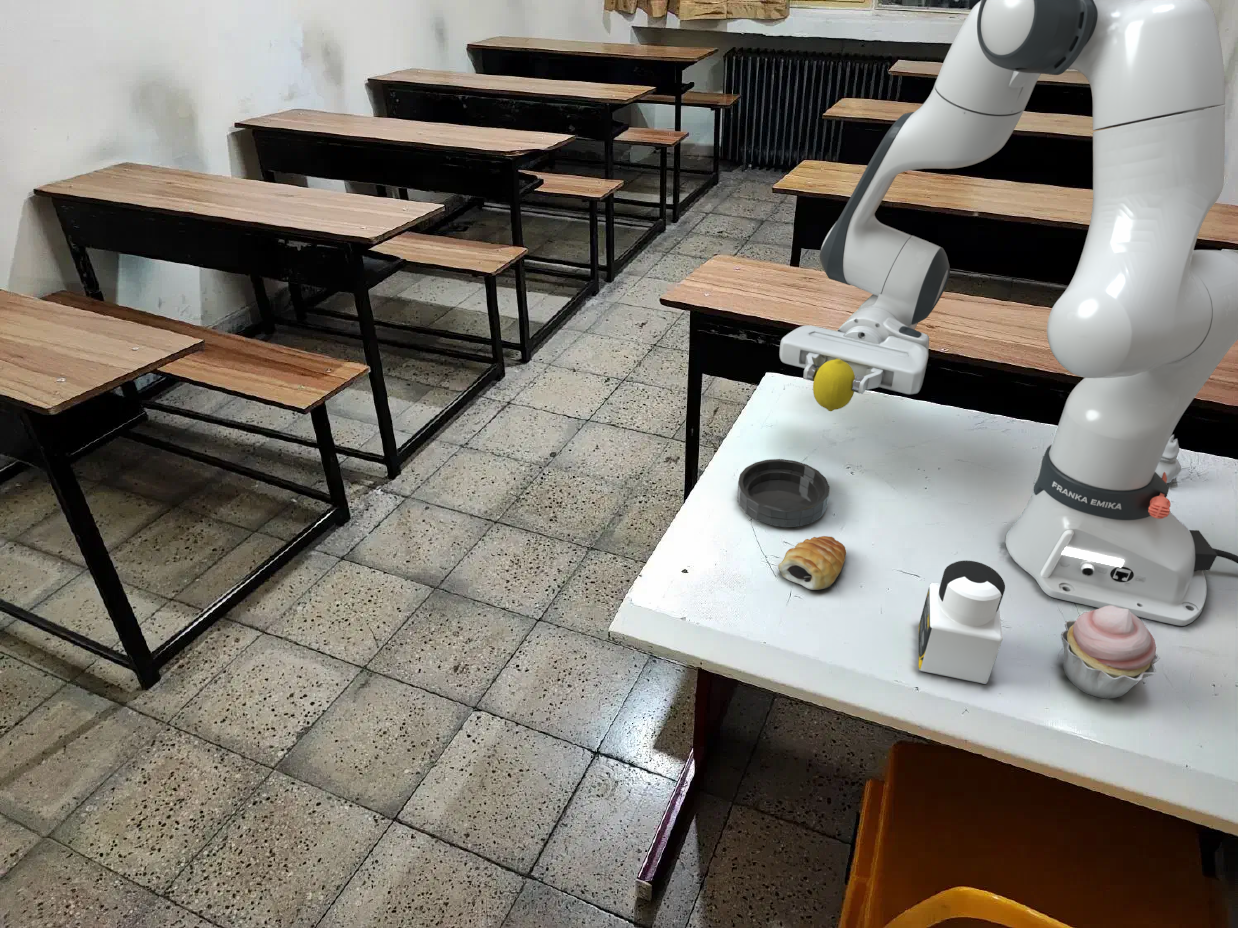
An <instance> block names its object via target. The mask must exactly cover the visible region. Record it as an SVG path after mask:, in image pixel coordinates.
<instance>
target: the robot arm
mask: <svg viewBox="0 0 1238 928" xmlns="http://www.w3.org/2000/svg"><path fill="white" fill-rule="evenodd" d="M1224 66H1225V65H1224V56H1223V48H1222V42H1221V37H1220V31H1219V27H1218V23H1217V18H1216V14H1215V12H1214V9H1213V7H1212V5H1211V4H1210V2H1208V1H1207V0H980V1H978V2H977V3H976V4H975V5H974V6H973V7H972V9H971V10H970V11H969V13H968V15H966V18H965V20H964V21H963V23H962V25H961V26H960V28H959V30H958V32H957V34H956V36H955V37H954V39H953V41H952V43H951V45H950V47H949V50H948V52H947V54H946V56H945V58H944V60H943V63H942V65H941V67H940V70H939V73H938V74H937V77H936V80H935V82H934V84H933V88H932V90H931V92H930V94H929V96H928V97H927V98H926V100H925V101H924V102H923V103H922V105H921V106H920V107H919V108H918V109H916V110H915V111H911V112H906V113H905V112H904V113H903V114H901V116H900V117H898V118H897V120H896V121H895V122H893V124H892V125H891V126H890V128H889V129H888V130H887V132H886V133H885V135H884V136H883V138H882V139H881V141H880V143H879V144H878V147H877V148H876V150H875V152H874V153H873V156H872V157H871V159H870V161H869V162H868V164H867V166H866V168H865V169H864V171H863V173H862V175H861V177H860V179H859V180H858V182H857V184H856V186H855V188H854V190H853V192H852V193H851V195H850V197H849V199H848V201H847V202H846V205H845V206H844V208H843V210H842V212H841V214H840V216H838V219H837V220H836V221H835V223H834V224H833V225H832V227H831V228H830V230H829V231H828V232H827V234H826V236H825V238H824V240H823V241H822V245H821V247H820V252H819V261H820V264H821V266H822V268H823V271H824V273H825V275H826V277H827V278H828V279H829V280H832V281H836V282H839V283H842V284H845V285H847V286H852V287H854V288H857V289H859V290H862V291H864V292H867V293H869V294H870V296H869V297H868V298H867V299H865V301H863V302H862V303H861V305H860V306H859V307H858V309H857V310H856V311H854V312H853V313H851V315H850V316H849V317H848V318H847V319H846V320H845V321H844V322H843V323H842V324H841V325H840V327H839V328H838V329H837V330H833V329H829V328H824V327H820V326H817V325H807V324H806V325H801V326H799V327H797V328H795V329H793V330H792V331H790V332H788V333H787V334H786V335H784V336H783V337H782V338H781V340H780V345H779V352H778V353H779V354H778V355H779V359H780V361H781V362H782V363H783V364H786V365H789V366H794V367H798V368H802V369H804V370H803V377H802V378H803V380H805V381H810V382H814V378H815V376H816V373H817V371H818V369H819V368H820V367H821V366H822V365H823V364H824V363H826V362H828V361H830V360H835V359H840V360H842V361H844V362H846V363H847V364H848V365H849V366H850V367H851V368H852V370H853V372H854V375H855V379H854V381H853V384H852V385H853V387H852V391H853V392H854V393H856V394H861V395H863V394H864V393H865V392H866V391H867V390H872V389H876V388H877V389H878V388H882V389H885V390H889V391H893V392H898V393H902V394H904V395H916V394H918V393H919V392H920V391H921V389H922V386H923V383H924V379H925V374H926V369H927V364H928V359H929V348H930V336H929V334H926V333H924V332H921V331H919V330H917V329H916V328H917V326H918V324H919V323H920V322H923V321H924V320H926V319H928V317H929V315H930V314H931V313H932V312H933V311H934V309H935V307H936V306H937V304H938V303H939V301H940V299H941V297H942V295H943V293H944V292H945V290H946V286H947V285H948V282H949V280H950V279H949V278H950V275H951V268H950V267H951V266H950V263H949V259H948V255H947V253H946V251H945V249H944V248H943V247H941V246H939V245H937V244H935V243H933V242H929V241H928V240H925V239H922V238H920V237H918V236H915V235H911V234H909V233H906V232H904V231H901V230H898V229H896V228H894V227H891V226H889V225H886V224H884V223H882V222H881V221H879V220H878V219H877V217H876V211H877V210H878V208H879V206H880V204H881V203H882V202H883V199H884V198H885V196H886V195H887V193H888V191H889V189H890V187H892V184H893V183H894V181H895V179H896V177H897V176H898V175H900V174H902V173H904V172H908V171H913V170H915V171H916V170H924V169H925V170H928V169H929V170H930V169H939V170H940V169H942V170H945V169H946V170H950V169H959V168H964V167H969V166H973V165H976V164H978V163H981V162H983V161H986V160H987V159H989V158H991V157H992V156H994V155H995V154H997V153H998V152H999V151H1000V150H1002V148H1003V147H1004V146H1005V145H1006V143H1007V142H1008V140H1009V139H1010V137H1011V136H1012V134H1013V132H1014V130H1015V128H1016V127H1017V125H1018V123H1019V121H1020V119H1021V118H1022V116H1023V113H1024V111H1025V109H1026V106H1027V105H1028V102H1029V101H1030V98H1031V95H1032V93H1033V91H1034V89H1035V86H1036V84H1037V82H1038V80H1039V79H1040V76H1041V75H1048V76H1049V75H1050V76H1051V75H1052V76H1060V75H1062V74H1063V73H1065V72H1066V71H1067V70H1071V71H1072V70H1074V71H1077V72H1079V74H1081V75H1083V76H1084V77H1085V79H1086V80H1087V81H1088V84H1089V85H1090V90H1091V97H1092V131H1093V132H1092V205H1091V206H1092V207H1091V214H1090V220H1089V221H1090V222H1089V224H1088V225H1089V227H1088V231H1087V233H1086V234H1087V235H1086V237H1085V242H1084V245H1083V249H1082V252H1081V255H1080V258H1079V261H1078V264H1077V266H1076V269H1075V272H1074V275H1073V277H1072V279H1071V281H1070V282H1069V284H1068V286H1067V287H1066V289H1065V291H1064V292H1063V293H1062V294H1061V296H1059V298H1058V299H1057V300H1056V302H1055V303H1054V305H1053V306H1052V307H1051V310H1050V311H1049V315H1048V318H1047V322H1046V338H1047V343H1048V346H1049V348H1050V351H1051V353H1052V355H1053V357H1054V358H1055V360H1056V361H1057V362H1058V363H1059V364H1060V365H1061V367H1063V368H1064V369H1065V370H1066V371H1068V372H1069V373H1071V374H1073V375H1075V376H1078V377H1081V378H1082V380H1080V382H1078V383H1077V384H1076V385H1075V387H1074V388H1073V389H1072V390H1071V392H1070V393H1069V395H1068V397H1067V399H1066V401H1065V403H1064V407H1063V410H1062V413H1061V416H1060V418H1059V422H1058V425H1057V427H1056V430H1055V433H1054V436H1053V439H1052V442H1051V444H1049V445H1048V446H1047V448H1046V450H1045V452H1044V454H1043V455H1042V457H1041V459H1040V462H1039V465H1038V468H1037V471H1036V474H1035V477H1034V481H1033V492H1032V494H1031V496H1030V498H1029V500H1028V502H1027V503H1026V506H1025V507H1024V508H1023V511H1022V512H1021V514H1020V515H1019V517H1018V518H1017V520H1016V521H1015V522H1014V524H1012V526H1011V527H1010V528H1009V529H1008V531H1007V533H1006V535H1005V547H1006V549H1007V552H1008V553H1009V555H1010V557H1011V558H1012V559H1013V561H1014V562H1015V563H1016V564H1017V565H1018V566H1019V567H1021V569H1023V570H1024V571H1025V572H1027V573H1028V574H1029V575H1030V576H1031V577H1032V578H1034V579H1035V581H1036V582H1037V584H1038V586H1039V587H1040V589H1041V590H1042V591H1043V593H1044V594H1045V595H1047V596H1049V597H1051V598H1054V599H1058V600H1062V601H1066V602H1071V603H1075V604H1079V605H1085V606H1089V607H1093V608H1097V609H1099V608H1102V607H1104V606H1109V605H1113V606H1116V607H1119V608H1122V609H1129V611H1130V612H1131V613H1132V614H1134V615H1135V616H1137V617H1138V618H1143V619H1147V620H1151V621H1156V622H1160V623H1165V624H1169V625H1174V626H1180V627H1183V626H1187V625H1189V624H1192V623H1193V622H1194V621H1195V620H1197V618H1199V616H1200V615H1201V613H1202V610H1203V608H1204V606H1205V603H1206V598H1207V589H1208V588H1207V587H1208V586H1207V580H1206V575H1205V573H1204V571H1207V572H1209V571H1210V570H1211V568H1212V566H1213V565H1214V562H1215V560H1216V558H1217V557H1220V558H1222V559H1227V560H1228V561H1232V562H1233V563H1236V564H1237V565H1238V555H1237V554H1235V553H1232V552H1230V551H1227V550H1226V551H1225V550H1222V549H1217V548H1213V547H1212V546H1211V544H1210V543H1209V541H1208V540H1207V539H1206V537H1205V536H1204V535H1203V534H1202V532H1201V531H1200V530H1198V529H1189V528H1188V527H1187V526H1186V525H1185V523H1183V522H1182V521H1181V520H1180V519H1179V518H1178V517H1177V516H1176V515H1175V514H1174V513H1173V512H1172V511H1171V508H1170V507H1171V501H1170V499H1168V495H1169V491H1170V489H1169V488H1170V487H1169V486H1170V485H1168V483H1166V482H1167V477H1166V473H1165V472H1164V473H1163V476H1162V478H1161V477H1160V476H1159V475H1158V474H1157V473H1156V472H1155V471H1156V468H1157V466H1158V464H1159V462H1160V459H1161V457H1162V455H1163V453H1164V450H1165V448H1166V446H1167V444H1168V441H1169V439H1170V437H1171V436H1172V435H1173V432H1174V431H1175V429H1176V427H1177V425H1178V423H1179V421H1180V420H1181V419H1182V416H1183V415H1184V413H1185V412H1186V410H1187V409H1188V407H1189V406H1190V404H1191V403H1192V402H1193V400H1194V399H1195V398H1196V396H1197V395H1198V393H1200V391H1201V390H1202V389H1203V387H1204V385H1205V384H1206V383H1207V381H1208V380H1209V379H1210V377H1211V376H1212V374H1213V373H1214V372H1215V370H1216V369H1217V368H1218V366H1219V365H1220V363H1221V362H1222V360H1223V359H1224V357H1225V356H1226V355H1227V353H1228V352H1229V351H1230V349H1231V348H1232V347H1233V346H1234V344H1235V343H1236V342H1237V341H1238V252H1235V251H1228V250H1218V249H1195V246H1196V243H1197V240H1198V236H1199V233H1200V230H1201V228H1202V225H1203V224H1204V221H1205V219H1206V217H1207V215H1208V213H1209V211H1210V210H1211V209H1212V207H1213V206H1214V205H1215V204H1216V202H1217V201H1218V200H1219V198H1220V196H1221V194H1222V191H1223V188H1224V184H1225V148H1226V146H1225V145H1226V144H1225V143H1226V142H1225V141H1226V135H1225V134H1226V81H1225V79H1226V78H1225V67H1224ZM1224 105H1225V106H1224Z"/></svg>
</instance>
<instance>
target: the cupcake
mask: <svg viewBox="0 0 1238 928" xmlns="http://www.w3.org/2000/svg"><path fill="white" fill-rule="evenodd" d="M1064 629H1065V630H1063V631H1061V633H1060V638H1061V642H1062V647H1063V663H1062V665H1063V670H1064V674H1065V676H1066V678H1067V679H1068V680H1069V681H1070V683H1072V685H1073V686H1075V687H1076V688H1077V689H1079V690H1080V691H1081V692H1084V693H1086V694H1087V695H1090V696H1092V697H1096V698H1101V699H1107V700H1109V699H1117V698H1120V697H1122V696H1124V695H1125V694H1126V693H1127V692H1129V691H1130V690H1131V689H1132V688H1133V687H1134V686H1135V685H1136V684H1138V683H1139V682H1140V681H1141V680H1143V679H1146V678H1148V677H1151V676H1153V675H1156V674H1157V673H1158V672H1157V668H1156V667H1155V665H1154V664H1156V663H1157V662H1158V661H1160V659H1161V657H1160V656H1159V654H1157V644H1156V640H1155V638H1154V636H1153V635H1152V633H1151V631H1149V629H1148V628H1147V626H1146V625H1145V623H1144V622H1143V621H1142V619H1140V617H1138V616H1135V615H1134V614H1132V613H1131V612H1130V611H1129V609H1122V608H1119V607H1116V606H1113V605H1109V606H1104V607H1102V608H1097V609H1092V610H1089V611H1085V612H1083V613H1082V614H1080V615H1079V616H1078V617H1077V618H1076V619H1074V620H1073V619H1072V620H1071V619H1070V620H1069V619H1068V620H1065V621H1064Z"/></svg>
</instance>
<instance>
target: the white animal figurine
mask: <svg viewBox="0 0 1238 928" xmlns="http://www.w3.org/2000/svg"><path fill="white" fill-rule="evenodd" d="M1179 445H1180V444H1179V440H1178V438H1175V434H1172V435H1171V437H1170V439H1169V441H1168V444H1167V446H1166V448H1165V450H1164V453H1163V455H1162V457H1161V459H1160V462H1159V464H1158V466H1157V468H1156V471H1155V472H1156V473H1157V474H1158V475H1159V476H1160V477H1161V478H1162V476H1163V473H1164V472H1165V473H1166V477H1167V482H1166V484H1169V483H1171V482H1172V481H1173V480H1174V479H1176V478H1177V477H1178V475H1179V474H1180V472H1181V469H1182V466H1181V463H1180V461H1179V460H1178V459H1177V458H1178V455H1179V452H1180V446H1179Z"/></svg>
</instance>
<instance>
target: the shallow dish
mask: <svg viewBox="0 0 1238 928" xmlns="http://www.w3.org/2000/svg"><path fill="white" fill-rule="evenodd" d="M736 492H737V493H736V498H737V502H738V505H739V507H740V508H741V509H742V510H743V512H744V513H745V514H746V515H748V516H749V517H750V518H752V519H754V520H756V521H758V522H761V523H763V524H766V525H768V526H774V527H780V528H794V527H802V526H805V525H809V524H812V523H815V522H816V521H817V520H819V519H821V518H822V517H823V515H824V514H825V512H826V511H827V509H828V502H829V496H830V484H829V482H828V480H827V478H826V476H824V475H823V474H822V472H820V471H819V470H818V469H817V468H814V467H813V466H811V465H808V464H807V463H804V462H801V461H797V460H791V459H784V458H771V459H763V460H761V461H755V462H753V463H752V464H750V465H748V466H747V467H745V468H744V469H743V470H742V471H741V472H740V474H739V477H738V482H737V491H736Z"/></svg>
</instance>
